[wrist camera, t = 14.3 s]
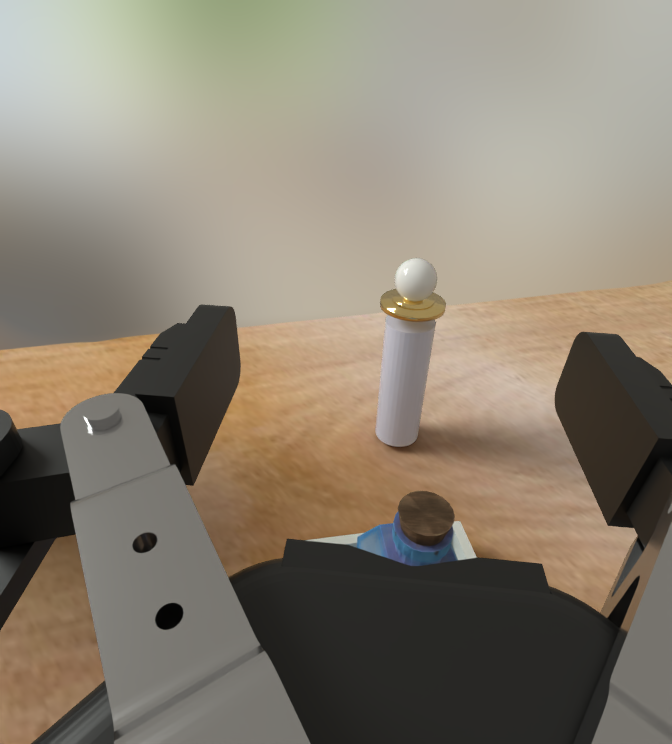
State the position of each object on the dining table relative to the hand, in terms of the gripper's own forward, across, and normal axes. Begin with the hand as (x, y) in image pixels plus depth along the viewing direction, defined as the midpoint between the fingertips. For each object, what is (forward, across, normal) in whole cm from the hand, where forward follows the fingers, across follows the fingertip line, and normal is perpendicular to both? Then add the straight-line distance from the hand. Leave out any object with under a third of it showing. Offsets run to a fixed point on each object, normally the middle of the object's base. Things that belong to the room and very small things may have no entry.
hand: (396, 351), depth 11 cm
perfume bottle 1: (+28, -3, +29) cm, 41 cm away
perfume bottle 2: (+8, -3, +28) cm, 29 cm away
